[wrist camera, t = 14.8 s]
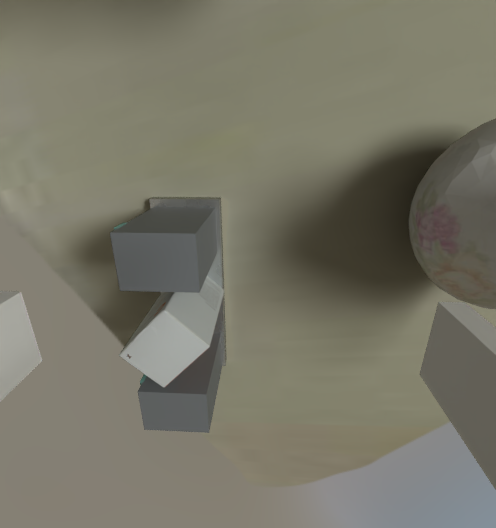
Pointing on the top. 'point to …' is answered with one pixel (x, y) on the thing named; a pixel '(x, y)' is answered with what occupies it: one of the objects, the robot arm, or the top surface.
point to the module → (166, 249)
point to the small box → (174, 332)
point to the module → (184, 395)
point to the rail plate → (217, 265)
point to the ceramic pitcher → (459, 218)
